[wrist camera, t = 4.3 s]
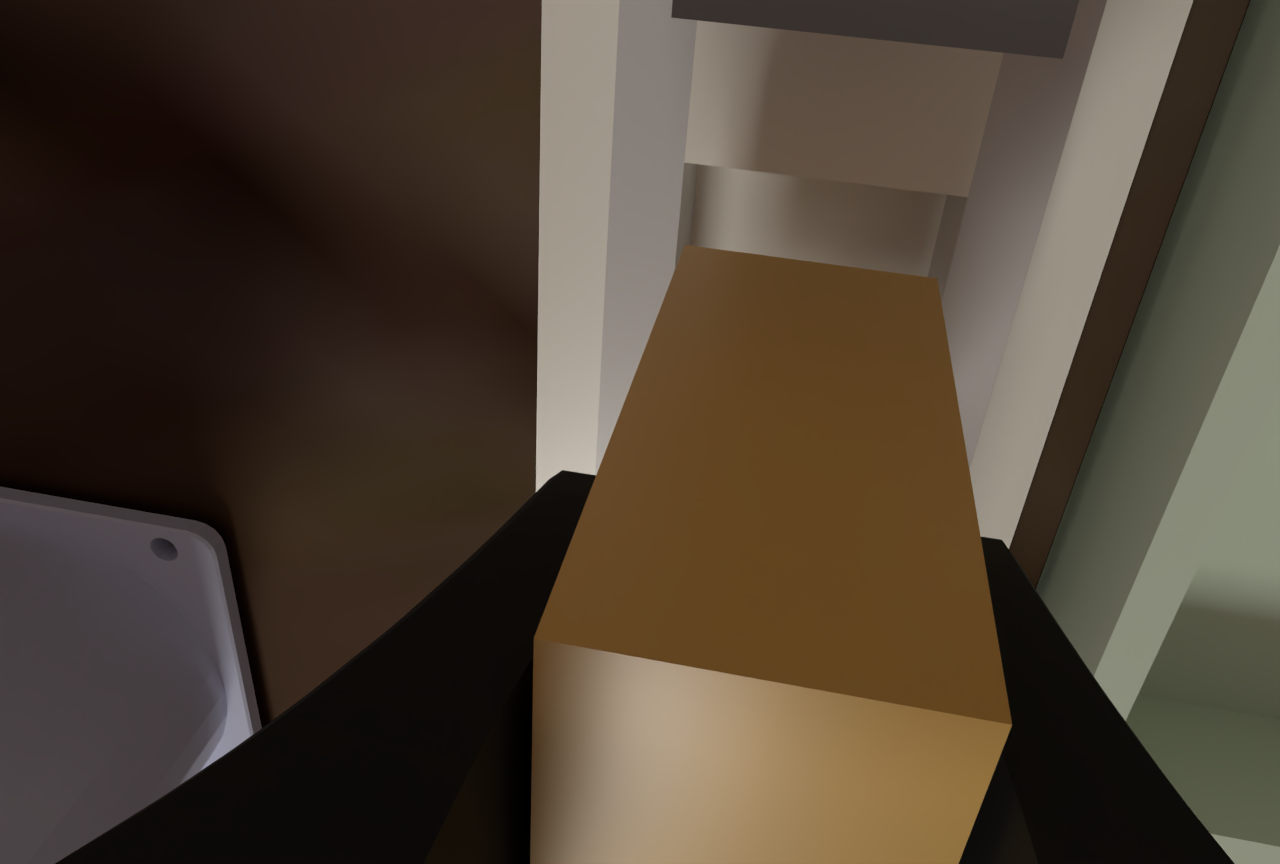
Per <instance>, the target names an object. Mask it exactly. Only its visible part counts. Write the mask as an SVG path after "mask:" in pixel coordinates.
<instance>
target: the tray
mask: <svg viewBox="0 0 1280 864" xmlns="http://www.w3.org/2000/svg"><path fill="white" fill-rule="evenodd" d="M1036 591H1037V592H1038V594H1039V595H1040V597H1041V598H1042V600H1043V601H1044V603H1045V605H1046V606H1047V608H1048V609H1049V611H1050V612H1051V614H1052V615H1053V617H1054V618H1055V620H1056V621H1057V623H1058V624H1059V626H1060V627H1061V629H1062V630H1063V632H1064V633H1065V635H1066V636H1067V638H1068V639H1069V641H1070V642H1071V644H1072V645H1073V647H1074V648H1075V650H1076V651H1077V653H1078V654H1079V655H1080V657H1081V658H1082V660H1083V661H1084V663H1085V664H1086V666H1087V667H1088V669H1089V670H1090V672H1091V673H1092V675H1093V676H1094V677H1095V679H1096V680H1097V682H1098V683H1099V685H1100V686H1101V688H1102V689H1103V690H1104V692H1105V693H1106V695H1107V696H1108V698H1109V699H1110V700H1111V702H1112V703H1113V705H1114V706H1115V707H1116V709H1117V710H1118V711H1119V713H1120V714H1121V716H1122V717H1123V718H1124V720H1125V721H1126V722H1127V724H1128V725H1129V727H1130V728H1131V729H1132V731H1133V732H1134V733H1135V735H1136V736H1137V738H1138V739H1139V740H1140V742H1141V743H1142V744H1143V746H1144V747H1145V749H1146V750H1147V751H1148V753H1149V754H1150V755H1151V757H1152V758H1153V760H1154V761H1155V762H1156V764H1157V765H1158V766H1159V768H1160V769H1161V771H1162V772H1163V773H1164V775H1165V776H1166V777H1167V779H1168V780H1169V781H1170V783H1171V784H1172V785H1173V787H1174V788H1175V789H1176V790H1177V792H1178V793H1179V794H1180V796H1181V797H1182V798H1183V800H1184V801H1185V802H1186V804H1187V805H1188V806H1189V807H1190V809H1191V810H1192V811H1193V813H1194V814H1195V815H1196V817H1197V818H1198V819H1199V820H1200V821H1201V823H1202V824H1203V825H1204V826H1205V828H1206V829H1207V830H1208V831H1209V833H1210V834H1211V835H1212V836H1213V838H1214V839H1215V840H1216V841H1217V842H1218V844H1219V845H1220V846H1221V847H1222V849H1223V850H1224V851H1225V852H1226V854H1227V855H1228V856H1229V857H1230V858H1231V860H1232V861H1233V862H1234V863H1235V864H1280V0H1250V3H1249V6H1248V9H1247V11H1246V14H1245V17H1244V20H1243V22H1242V25H1241V28H1240V31H1239V33H1238V36H1237V39H1236V42H1235V44H1234V47H1233V50H1232V53H1231V55H1230V58H1229V61H1228V64H1227V66H1226V69H1225V72H1224V75H1223V77H1222V80H1221V83H1220V86H1219V88H1218V91H1217V94H1216V96H1215V99H1214V102H1213V105H1212V107H1211V110H1210V113H1209V116H1208V118H1207V121H1206V124H1205V127H1204V129H1203V132H1202V135H1201V138H1200V140H1199V143H1198V146H1197V149H1196V151H1195V154H1194V157H1193V160H1192V162H1191V165H1190V168H1189V171H1188V173H1187V176H1186V179H1185V182H1184V184H1183V187H1182V190H1181V193H1180V195H1179V198H1178V201H1177V204H1176V206H1175V209H1174V212H1173V214H1172V217H1171V220H1170V223H1169V225H1168V228H1167V231H1166V234H1165V236H1164V239H1163V242H1162V245H1161V247H1160V250H1159V253H1158V256H1157V258H1156V261H1155V264H1154V267H1153V269H1152V272H1151V275H1150V278H1149V280H1148V283H1147V286H1146V289H1145V291H1144V294H1143V297H1142V300H1141V302H1140V305H1139V308H1138V311H1137V313H1136V316H1135V319H1134V322H1133V324H1132V327H1131V330H1130V333H1129V335H1128V338H1127V341H1126V343H1125V346H1124V349H1123V352H1122V354H1121V357H1120V360H1119V363H1118V365H1117V368H1116V371H1115V374H1114V376H1113V379H1112V382H1111V385H1110V387H1109V390H1108V393H1107V396H1106V398H1105V401H1104V404H1103V407H1102V409H1101V412H1100V415H1099V418H1098V420H1097V423H1096V426H1095V429H1094V431H1093V434H1092V437H1091V440H1090V442H1089V445H1088V448H1087V451H1086V453H1085V456H1084V459H1083V461H1082V464H1081V467H1080V470H1079V472H1078V475H1077V478H1076V481H1075V483H1074V486H1073V489H1072V492H1071V494H1070V497H1069V500H1068V503H1067V505H1066V508H1065V511H1064V514H1063V516H1062V519H1061V522H1060V525H1059V527H1058V530H1057V533H1056V536H1055V538H1054V541H1053V544H1052V547H1051V549H1050V552H1049V555H1048V558H1047V560H1046V563H1045V566H1044V569H1043V571H1042V574H1041V577H1040V579H1039V582H1038V585H1037V588H1036Z"/></svg>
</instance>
